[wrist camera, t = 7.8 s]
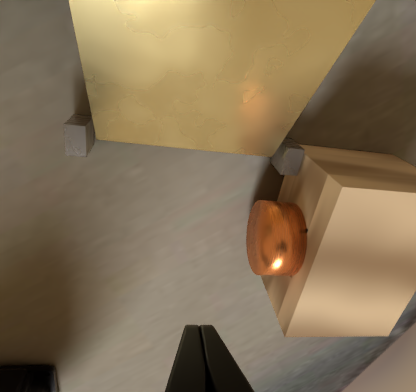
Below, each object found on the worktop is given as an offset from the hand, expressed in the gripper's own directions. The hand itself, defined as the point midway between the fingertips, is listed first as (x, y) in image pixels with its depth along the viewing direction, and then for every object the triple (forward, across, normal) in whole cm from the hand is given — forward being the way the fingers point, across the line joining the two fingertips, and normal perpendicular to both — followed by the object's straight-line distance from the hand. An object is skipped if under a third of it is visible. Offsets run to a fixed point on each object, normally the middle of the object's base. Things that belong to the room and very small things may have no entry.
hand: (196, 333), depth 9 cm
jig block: (+11, -10, +2) cm, 15 cm away
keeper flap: (+8, 0, -7) cm, 11 cm away
